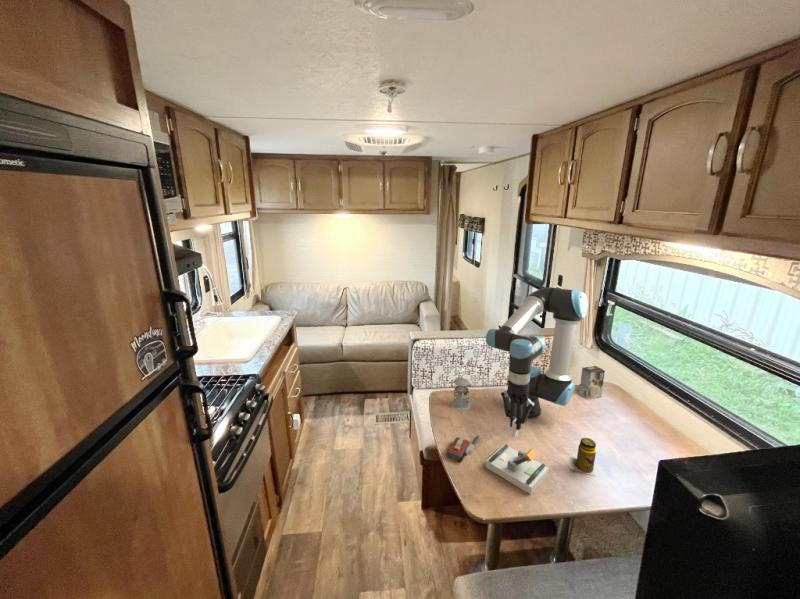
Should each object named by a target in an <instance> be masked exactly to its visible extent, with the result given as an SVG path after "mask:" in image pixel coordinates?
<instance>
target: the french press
mask: <svg viewBox="0 0 800 599" xmlns="http://www.w3.org/2000/svg"><path fill="white" fill-rule="evenodd" d="M460 365H461V367H464V365H465V362H464V361H460ZM453 383H454V384H455V385H456V386H454V390H453V402H452V403H451V407H452V408H453V409H454V410H457V411H460V412H461V411H464V412H465V411H467V410H470V408H471V404H470V402H469V400H470V398H469V396H470V392H469V387H468V386H469V385H470V383H471V382H470V380H468V379H467V378H464V377H458V378H455V379H454V381H453Z"/></svg>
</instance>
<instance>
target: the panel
mask: <svg viewBox="0 0 800 599" xmlns="http://www.w3.org/2000/svg"><path fill="white" fill-rule="evenodd" d="M525 453H526V452H523V451H522V450H515V449H514V448H512V447H510V446H509V445H508V444H503V445H502V446H500V448H498V449H497V450H496V451H494V453H493V454H491V455H490V457H488V458H487V459H486V460H485V468H486V469H488V470H490V471H491V472H493V473H494V474H496V475H498V476H499V477H501V478H503V479H504V480H506V481H508V482H509V483H511V484H513V485H514V486H515V487H516V486H517V488H519V489H521V490H523V491H525V493H528V494H529V495H532V494H533V493H534V492H535V490H536V489H537V488H538V487H539V486H540V484H541V483H542V482H543V481H544V480H545V479H546V477H547V476H548V475H549V469H550V468H549V467H548V466H546V465H545V463H540V462H538V461H536V460H535V459H534V458H533V459H532V460H531V461H529V462H527V461H525V462H523V463H521V464H518V465H517V464H516V463H514V462H512V461H513V460H514V459H515V458H516V457H517V456H519V455H523V454H525ZM516 465H517V466H516Z"/></svg>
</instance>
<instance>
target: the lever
mask: <svg viewBox="0 0 800 599" xmlns="http://www.w3.org/2000/svg"><path fill="white" fill-rule="evenodd" d="M524 453H525V454H523V455H519V456H517V457H516V458H515V459H514V460H513V461H512V462H514V463H516V464H517V465H518V464H521V463H523V462H525V461H527V462H529V461H531V460H532V459H533V460H534V459H535V458H536V457H537V455H538V453H537V451H536V450H535V449H534V448H530V449H529V450H528V451H526V452H524ZM517 465H516V466H517Z"/></svg>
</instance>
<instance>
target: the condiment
mask: <svg viewBox="0 0 800 599" xmlns="http://www.w3.org/2000/svg"><path fill="white" fill-rule="evenodd" d="M596 446H597V443H596V442H595V441H594V440H593V439H591V438H588V437H582V438H581V439H580V443H579V445H578V448H577V456H576V458H575V457H573V456H570V462H569V469H571V470H574V471H578V472H580V473H583V474H586V475H590V476H593V477H595V461H596V460H595V459H596V453H597V449H596Z"/></svg>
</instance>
